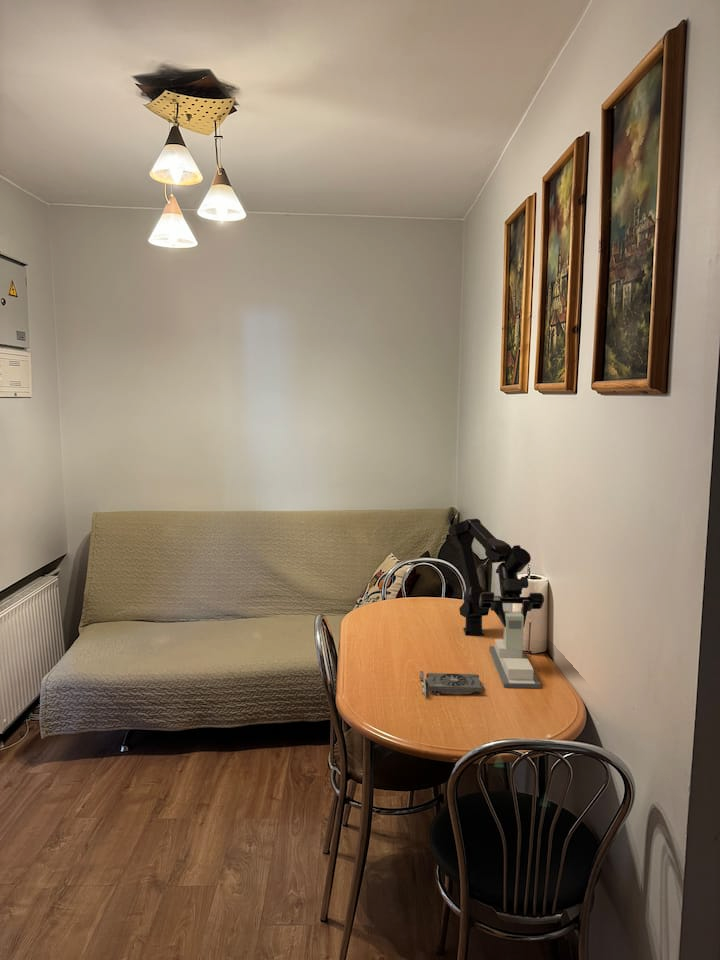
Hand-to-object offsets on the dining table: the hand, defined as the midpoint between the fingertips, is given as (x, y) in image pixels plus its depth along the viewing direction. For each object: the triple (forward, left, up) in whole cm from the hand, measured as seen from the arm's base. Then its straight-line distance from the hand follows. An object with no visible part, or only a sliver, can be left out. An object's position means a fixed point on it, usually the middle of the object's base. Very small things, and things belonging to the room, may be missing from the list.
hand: (514, 626), depth 186 cm
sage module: (-1, 0, -7) cm, 7 cm away
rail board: (-1, 0, -13) cm, 13 cm away
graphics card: (+15, -20, -14) cm, 28 cm away
